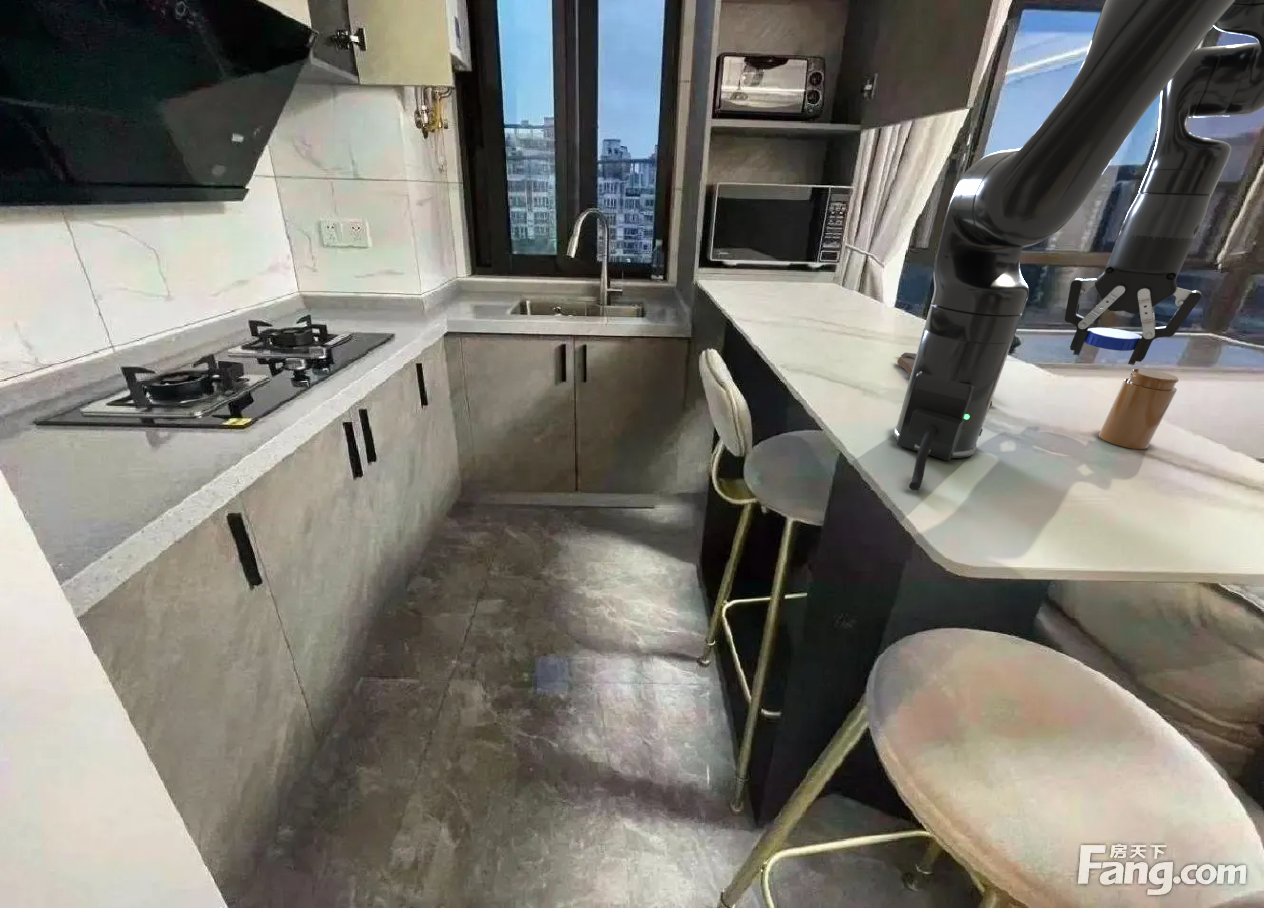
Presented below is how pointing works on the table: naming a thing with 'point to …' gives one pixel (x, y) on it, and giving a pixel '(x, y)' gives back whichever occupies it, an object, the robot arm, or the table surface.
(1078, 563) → the table surface
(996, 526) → the table surface
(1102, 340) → the lid
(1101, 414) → the table surface
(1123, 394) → the jar
